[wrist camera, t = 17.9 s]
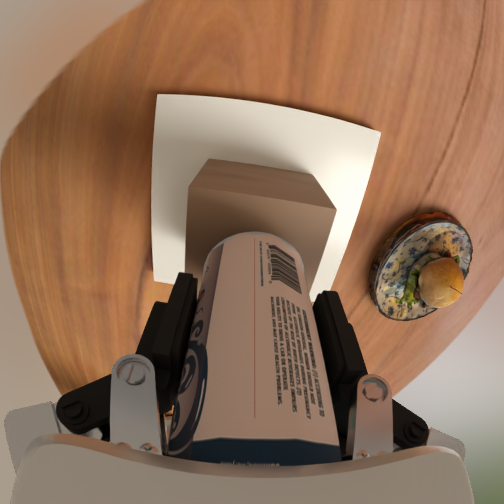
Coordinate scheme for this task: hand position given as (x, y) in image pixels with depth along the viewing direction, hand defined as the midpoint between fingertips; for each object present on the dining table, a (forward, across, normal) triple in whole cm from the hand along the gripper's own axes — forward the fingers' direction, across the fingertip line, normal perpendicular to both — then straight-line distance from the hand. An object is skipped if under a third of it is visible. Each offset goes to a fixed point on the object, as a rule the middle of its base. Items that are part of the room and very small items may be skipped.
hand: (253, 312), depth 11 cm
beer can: (+3, 0, 0) cm, 3 cm away
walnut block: (+10, 0, 0) cm, 10 cm away
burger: (+11, -17, +3) cm, 21 cm away
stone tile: (+11, 0, 0) cm, 11 cm away
